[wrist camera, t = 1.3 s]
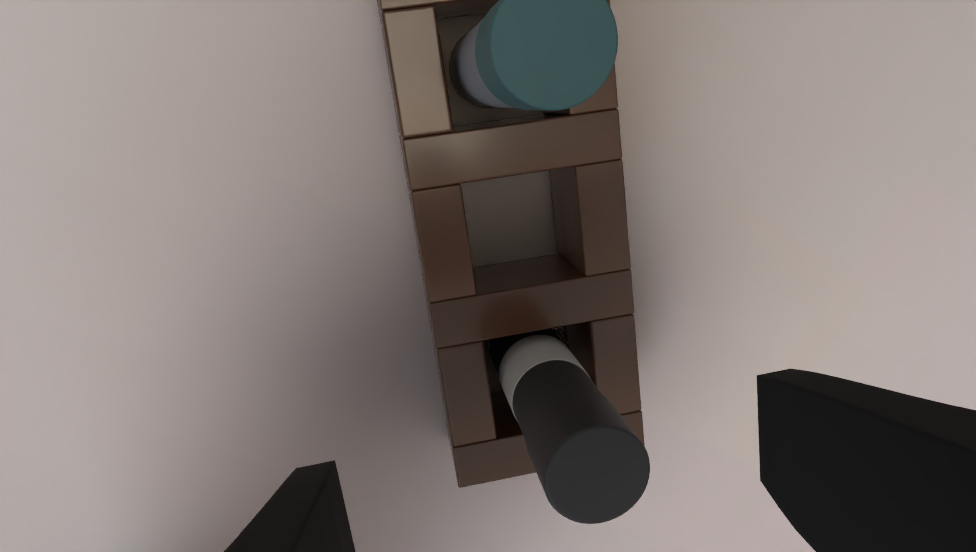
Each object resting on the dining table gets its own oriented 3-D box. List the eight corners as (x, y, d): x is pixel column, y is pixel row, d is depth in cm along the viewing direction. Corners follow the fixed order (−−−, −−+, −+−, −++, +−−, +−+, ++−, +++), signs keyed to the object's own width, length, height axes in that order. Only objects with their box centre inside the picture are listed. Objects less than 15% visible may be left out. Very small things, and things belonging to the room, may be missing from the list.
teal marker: (530, 103, 20) (623, 101, 12) (453, 114, 19) (498, 118, 12) (521, 21, 19) (613, -37, 11) (441, 31, 19) (481, -22, 11)
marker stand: (612, 407, 23) (645, 450, 20) (448, 438, 22) (458, 488, 19) (571, -48, 19) (605, -76, 16) (372, -25, 18) (371, -50, 15)
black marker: (560, 370, 22) (654, 512, 14) (491, 383, 22) (550, 535, 14) (552, 305, 21) (647, 416, 14) (482, 317, 21) (538, 437, 13)
